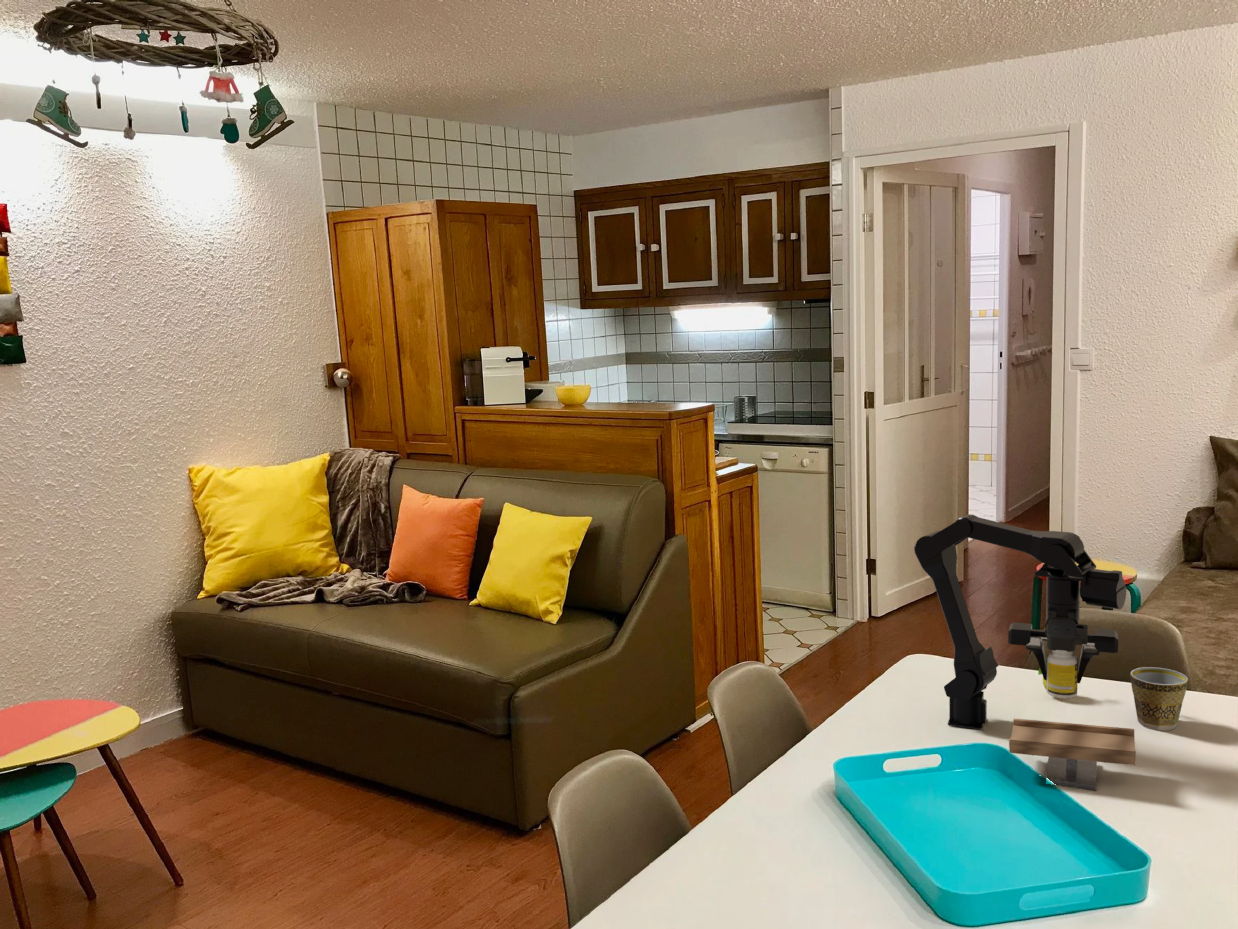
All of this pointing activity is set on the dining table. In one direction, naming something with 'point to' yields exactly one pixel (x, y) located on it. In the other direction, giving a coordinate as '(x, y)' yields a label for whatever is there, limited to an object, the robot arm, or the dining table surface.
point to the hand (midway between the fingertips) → (1061, 681)
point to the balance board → (1073, 741)
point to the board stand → (1072, 773)
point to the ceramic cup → (1158, 696)
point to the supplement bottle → (1062, 674)
